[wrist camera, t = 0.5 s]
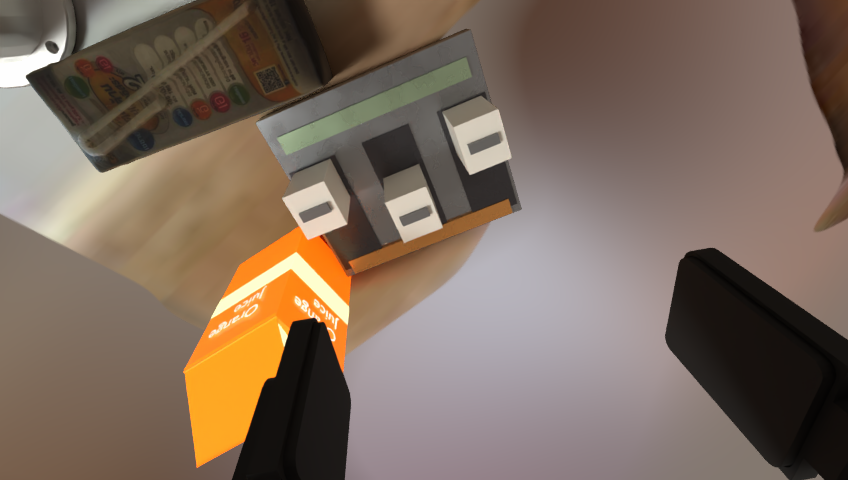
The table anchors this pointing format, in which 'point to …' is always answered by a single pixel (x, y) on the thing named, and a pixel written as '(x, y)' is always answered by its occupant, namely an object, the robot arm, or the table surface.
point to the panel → (394, 148)
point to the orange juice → (260, 335)
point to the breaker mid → (411, 203)
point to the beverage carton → (183, 76)
